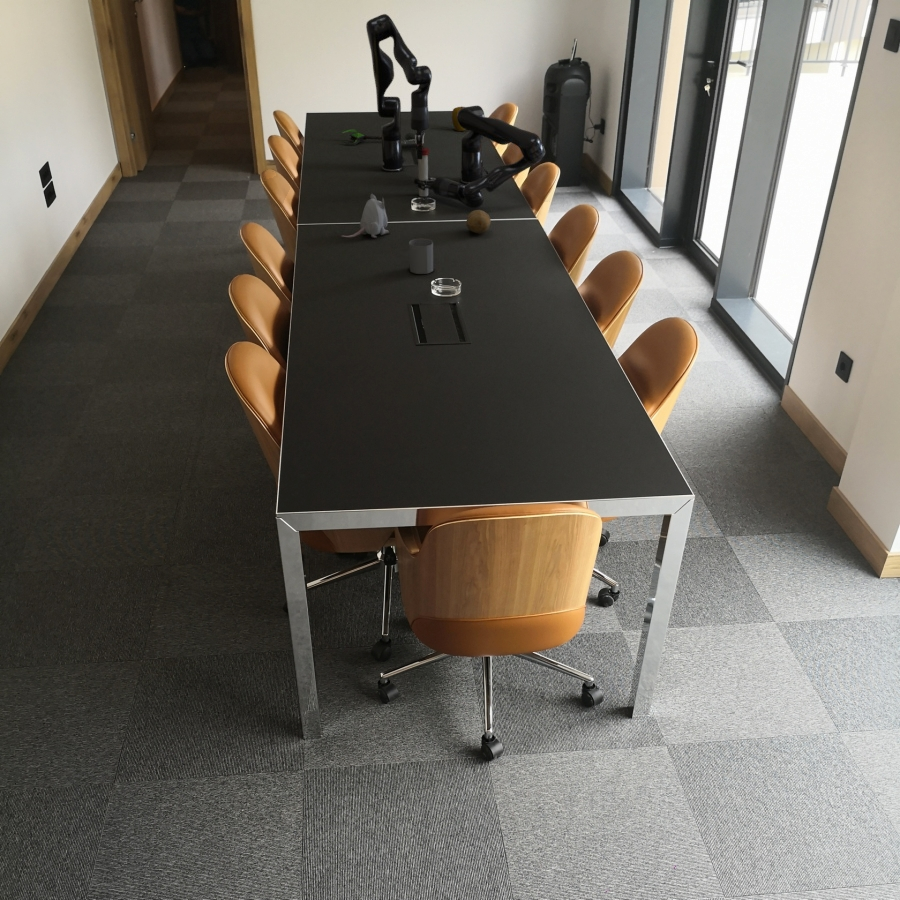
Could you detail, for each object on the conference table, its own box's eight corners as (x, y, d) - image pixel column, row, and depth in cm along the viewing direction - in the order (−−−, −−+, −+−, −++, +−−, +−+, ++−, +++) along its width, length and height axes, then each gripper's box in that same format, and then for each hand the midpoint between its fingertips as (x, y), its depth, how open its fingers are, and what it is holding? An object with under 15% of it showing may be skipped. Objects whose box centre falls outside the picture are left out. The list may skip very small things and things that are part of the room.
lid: (427, 155, 373) (427, 150, 372) (415, 155, 374) (415, 150, 373) (429, 152, 377) (429, 147, 376) (418, 152, 378) (418, 147, 377)
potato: (488, 225, 349) (488, 206, 345) (492, 237, 337) (492, 217, 333) (464, 226, 348) (464, 206, 344) (467, 238, 337) (467, 217, 332)
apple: (471, 132, 486) (471, 108, 479) (451, 132, 486) (451, 108, 479) (470, 128, 495) (471, 104, 488) (452, 128, 495) (452, 104, 488)
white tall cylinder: (430, 194, 386) (429, 150, 376) (425, 197, 383) (424, 152, 373) (421, 193, 388) (420, 149, 377) (417, 195, 385) (416, 151, 374)
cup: (409, 265, 311) (408, 238, 306) (432, 265, 312) (431, 238, 307) (410, 274, 304) (409, 246, 299) (433, 273, 305) (433, 246, 299)
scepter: (396, 126, 467) (340, 124, 465) (396, 141, 460) (339, 139, 458) (396, 135, 472) (341, 133, 470) (396, 151, 465) (340, 148, 463)
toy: (394, 233, 341) (393, 195, 333) (349, 248, 327) (347, 208, 319) (379, 228, 347) (377, 190, 338) (334, 242, 332) (331, 203, 324)
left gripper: (411, 113, 373) (412, 152, 382) (409, 120, 361) (410, 161, 370) (429, 113, 373) (429, 152, 382) (427, 121, 361) (428, 161, 370)
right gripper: (433, 199, 371) (407, 191, 382) (457, 193, 380) (430, 185, 390) (433, 182, 367) (406, 174, 377) (457, 175, 376) (430, 168, 386)
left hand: (420, 156), depth 376 cm, fingers open, 7 cm apart
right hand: (419, 179), depth 384 cm, fingers closed on white tall cylinder, 4 cm apart
